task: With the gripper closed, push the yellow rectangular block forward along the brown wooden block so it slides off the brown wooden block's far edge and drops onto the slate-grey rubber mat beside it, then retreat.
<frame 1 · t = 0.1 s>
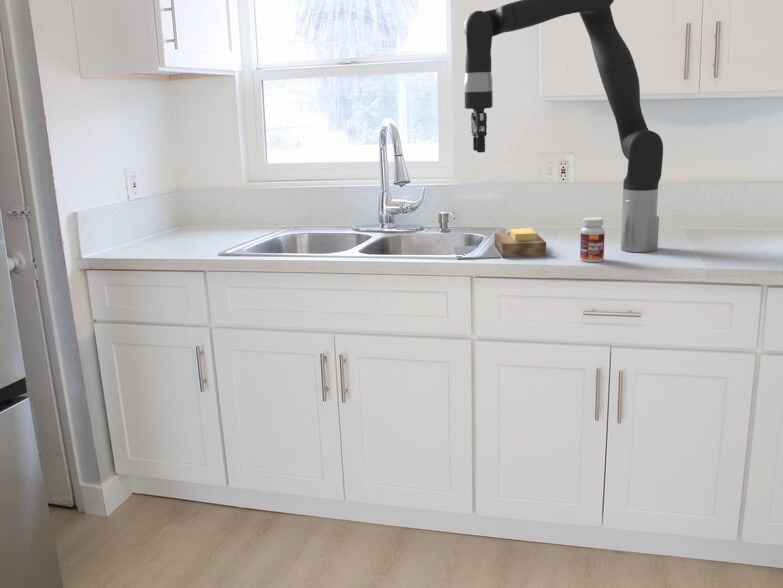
hand: (479, 151, 205), 29 cm above the worktop, fingers open, 8 cm apart
mat: (476, 252, 217), on the worktop
yellow rectangular block: (523, 237, 214), point 4 cm above the worktop, touching brown wooden block
pill bottle: (591, 261, 201), on the worktop
brown wooden block: (519, 251, 216), on the worktop
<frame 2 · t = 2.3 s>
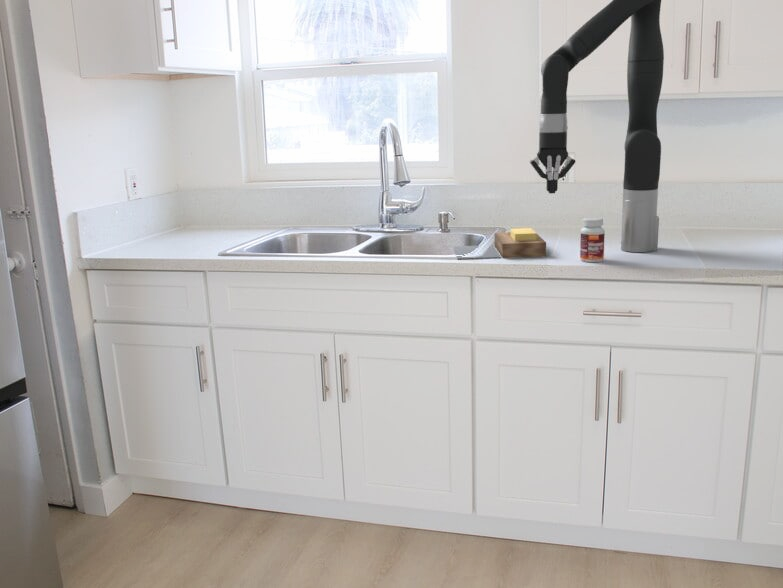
hand: (551, 193, 211), 17 cm above the worktop, fingers closed
nothing on the worktop moved.
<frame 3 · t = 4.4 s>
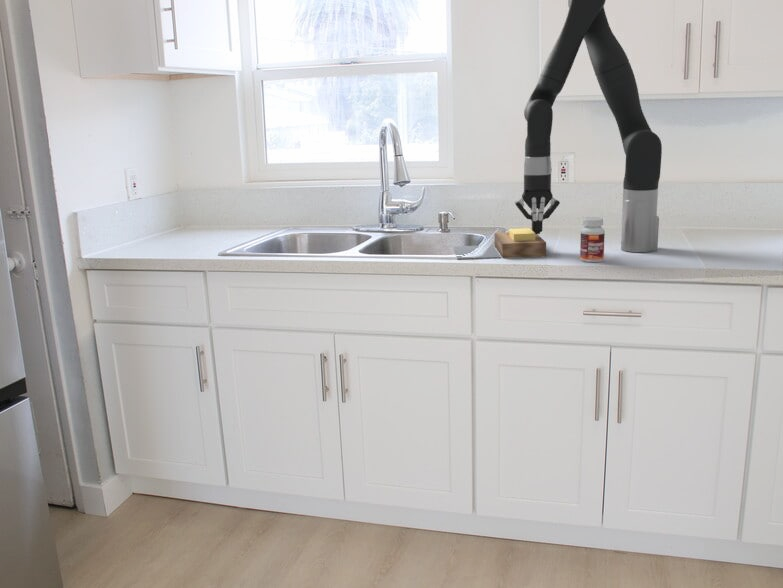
hand: (536, 233, 214), 5 cm above the worktop, fingers closed
yellow rectangular block: (522, 237, 214), point 4 cm above the worktop, touching brown wooden block, gripper
everything else where it was.
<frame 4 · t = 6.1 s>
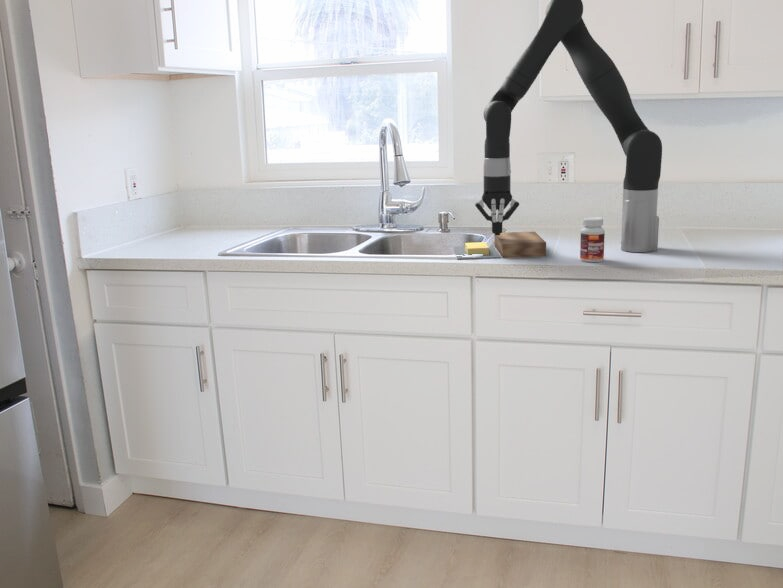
hand: (496, 234, 214), 5 cm above the worktop, fingers closed
yellow rectangular block: (476, 245, 215), point 2 cm above the worktop, tilted 180°, touching mat
everything else where it was.
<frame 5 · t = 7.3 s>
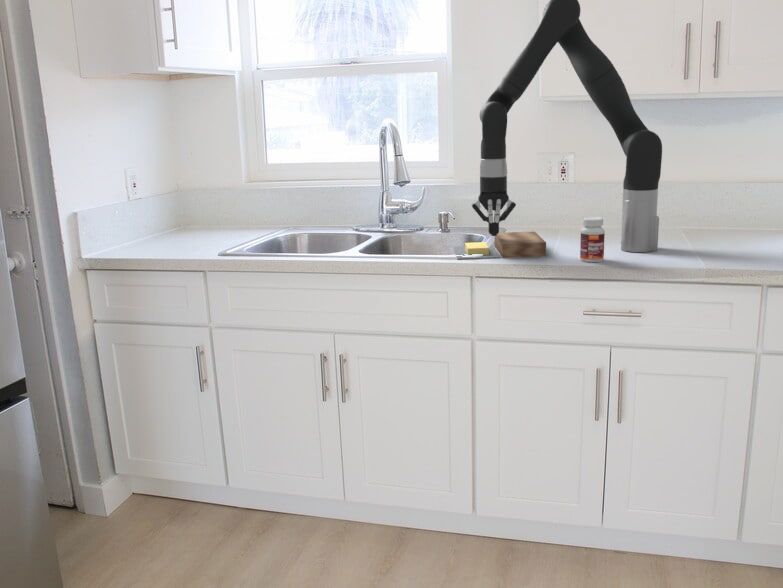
hand: (493, 235, 214), 5 cm above the worktop, fingers closed
nothing on the worktop moved.
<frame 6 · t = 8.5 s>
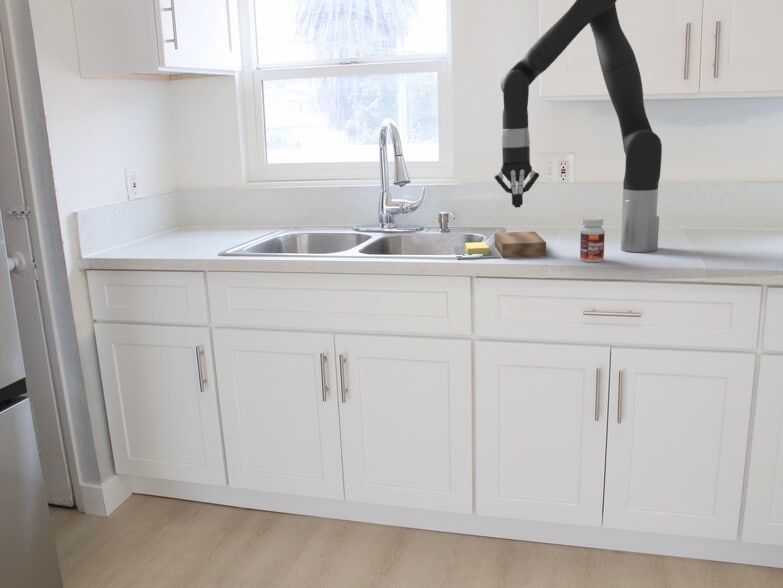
hand: (517, 207, 212), 13 cm above the worktop, fingers closed
nothing on the worktop moved.
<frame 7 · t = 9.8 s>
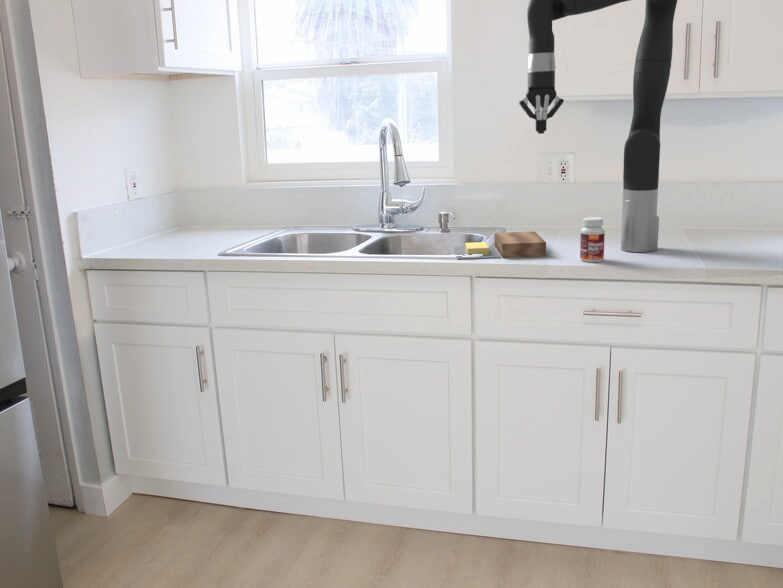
hand: (540, 133, 214), 33 cm above the worktop, fingers closed
nothing on the worktop moved.
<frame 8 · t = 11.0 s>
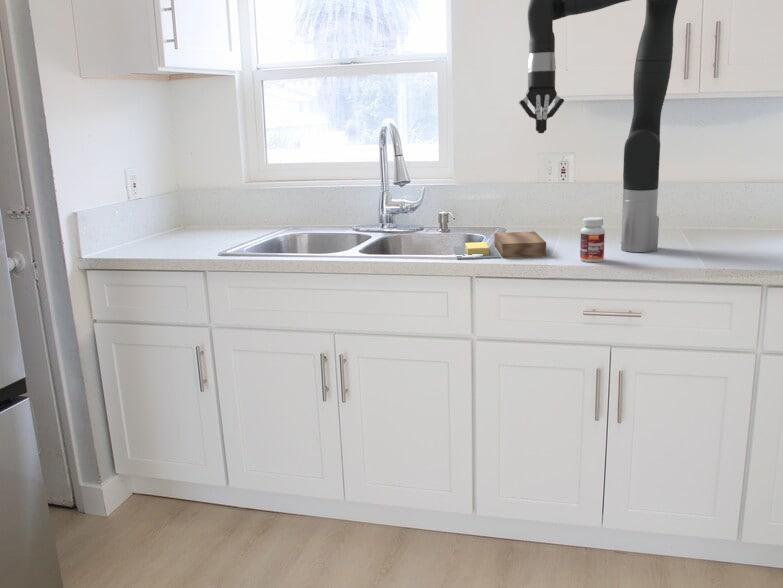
hand: (540, 133, 214), 33 cm above the worktop, fingers closed
nothing on the worktop moved.
at the end: yellow rectangular block inside the target area on the mat (1.0 cm from its centre), point 2.3 cm above the mat's base; yellow rectangular block point 2.3 cm above the worktop; yellow rectangular block touching mat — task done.
